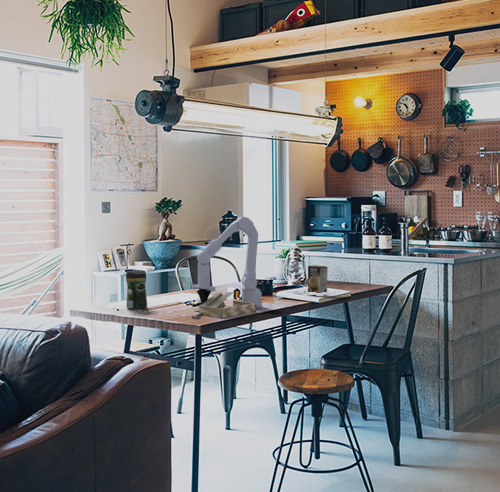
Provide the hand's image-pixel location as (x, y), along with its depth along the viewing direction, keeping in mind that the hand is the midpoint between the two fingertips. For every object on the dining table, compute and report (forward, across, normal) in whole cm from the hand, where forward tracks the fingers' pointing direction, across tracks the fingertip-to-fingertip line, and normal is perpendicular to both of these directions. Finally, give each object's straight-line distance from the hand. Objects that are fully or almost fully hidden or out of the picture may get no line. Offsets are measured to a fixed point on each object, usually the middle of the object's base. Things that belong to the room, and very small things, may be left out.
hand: (204, 304), depth 330 cm
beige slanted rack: (+2, +9, -2) cm, 10 cm away
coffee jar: (+2, -24, -22) cm, 33 cm away
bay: (+2, +17, 0) cm, 17 cm away
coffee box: (+2, +9, +72) cm, 73 cm away
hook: (+2, +16, -16) cm, 23 cm away
